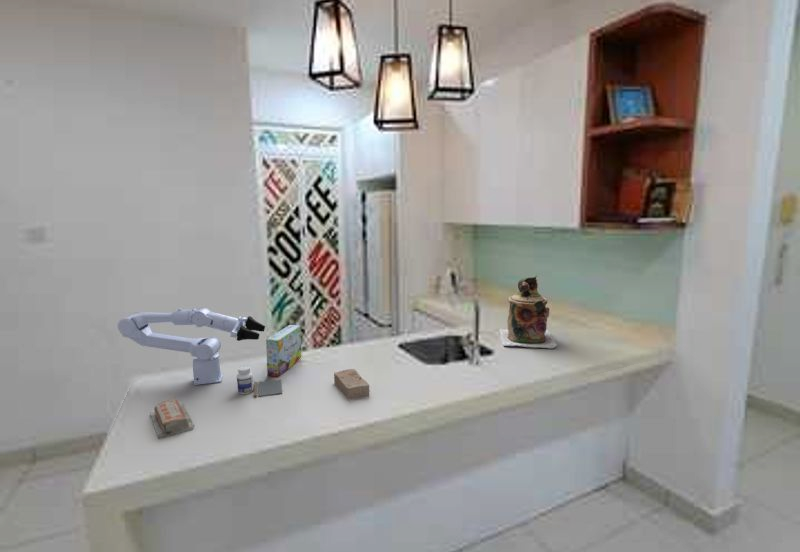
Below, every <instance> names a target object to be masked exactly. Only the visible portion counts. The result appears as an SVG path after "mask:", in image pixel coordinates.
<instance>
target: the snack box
mask: <svg viewBox="0 0 800 552" xmlns="http://www.w3.org/2000/svg"><path fill="white" fill-rule="evenodd" d="M301 331H302V329H301V325H296V324H289V325H287V326H286V327H284V328H282V329H281V330H280V331H277V332H276V333H274V334H272V335H271V336H269V337H267V339H266V340H265V346H266V349H265V350H266V370H267V373H266V374H267V376H269V377H275V376H277V377H276V378H279V377H281V376H282V375H283V374H284V373H285V372H287V371H288V370H289V369H290V368H291V367H293V366H294V365H295V364H296V363H297V361H298V360H299V359H300V358H301V359H302V332H301ZM301 359H300V360H301ZM300 360H299V361H300ZM299 361H298V362H299ZM292 365H293V366H292Z"/></svg>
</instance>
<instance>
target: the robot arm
mask: <svg viewBox="0 0 800 552" xmlns="http://www.w3.org/2000/svg"><path fill="white" fill-rule="evenodd" d="M153 323H154V324H156V323H160V324H161V323H172V324H173V325H174V326H193V325H195V326H196V328H202V327H207V328H210V329H213V330H214V329H215V330H219V331H221V332H226V333H230V337H231V338H236V341H237V342H238V341H246V340H253V341H254V340H259V339H260V333H258V332H264V331H265V329H266V325H264V324H262V323H260V322H259V321H257V320H255V319H254V317H252V316H250V315H249V316H248V317H245V316H244V317H243V316H239V317H238V318H237V317H234V316H230V315H225V314H222V313H218V312H213V311H211V309H209V308H207V307H204V306H203V307H200V308H198V309H196V307H195V308H192V309H184V308H182V307H179V308H177V309H175V310H174V311H173V312H155V311H154V312H153V311H152V312H150V311H142V312H134V313H132V314H131V315H129V316H127V317H125V318H121V319H120V320H119V321H118V323H117V329H118V332H119V333H120V334H121V335H122V337H123V338H128V339H130V340H132V341H133V342H135V343H136V344H138V345H139V346H143V347H148V348H149V347H150V348H153V349H154V348H155V349H161V350H169V351H176V352H183V353H189V354H190V356H191V357H195V358H193V359H192V373H193V376H192V377H193V385H194V386H197V385H198V386H199V385H206V384H215V383H221V382H222V379H223V376H224V375H223V373H222V372H221V361H220V360H221V359H220V353H219V351H220V350H221V342H220V340H219V338H217V337H215V336H209V337H198V338H191V337H184V336H178V335H171V334H166V333H165V334H164V333H157V332H153V331H152V329H151V326H150V324H153Z"/></svg>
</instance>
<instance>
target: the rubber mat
mask: <svg viewBox="0 0 800 552" xmlns="http://www.w3.org/2000/svg"><path fill="white" fill-rule="evenodd" d="M276 395H283V388H282V380H281V379H277V380H276V379H275V380H267V381H259V382H258V397H259V398H260V397H268V396H276Z"/></svg>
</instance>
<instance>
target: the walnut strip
mask: <svg viewBox="0 0 800 552" xmlns="http://www.w3.org/2000/svg"><path fill="white" fill-rule="evenodd" d="M253 398H258V381H253Z"/></svg>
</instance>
